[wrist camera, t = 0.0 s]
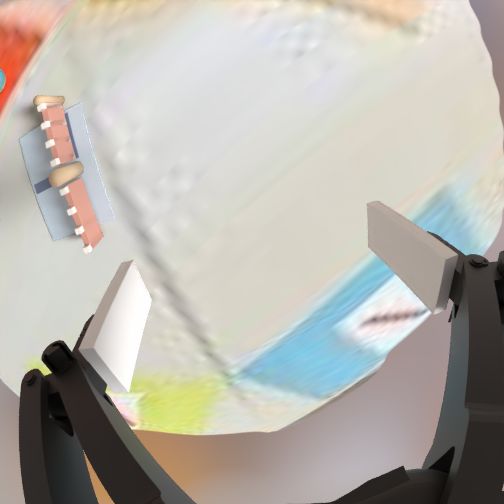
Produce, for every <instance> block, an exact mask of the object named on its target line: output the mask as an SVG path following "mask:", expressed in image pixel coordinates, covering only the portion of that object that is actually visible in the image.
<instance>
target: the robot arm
mask: <svg viewBox="0 0 504 504" xmlns="http://www.w3.org/2000/svg"><path fill="white" fill-rule="evenodd" d="M367 215H368V247H369V248H370V249H371V250H372V251H373V252H374V253H375V254H376V255H377V256H378V257H379V258H380V259H381V260H382V261H383V262H384V263H385V264H386V265H387V266H388V267H389V268H390V269H391V270H392V271H393V272H394V273H395V274H396V275H397V276H398V277H399V278H400V279H401V280H402V281H403V282H404V283H405V284H406V285H407V286H408V287H409V288H410V289H411V290H412V291H413V293H414V294H415V295H416V296H417V297H418V298H419V299H420V300H421V301H422V302H423V303H424V304H425V306H426V307H427V308H428V309H429V310H430V311H431V312H432V313H433V315H434V314H436V313H439V312H441V311H443V310H445V309H446V307H447V303H448V300H449V298H450V299H451V300H452V301H453V302H454V304H453V308H452V311H451V315H450V318H449V321H448V322H451V319H452V326H451V342H450V354H449V364H448V372H447V379H446V386H445V392H444V398H443V403H442V408H441V413H440V417H439V422H438V426H437V430H436V434H435V438H434V441H433V445H432V447H431V449H430V451H429V453H428V455H427V457H426V459H425V461H424V464H423V466H422V469H411V470H405V468H404V466H401V467H399V468H397V469H395V470H392V471H390V472H388V473H386V474H383V475H381V476H379V477H376V478H374V479H371V480H369V481H367V482H366V483H364V484H362V485H361V486H360V487H358V488H356V489H354V490H353V491H351V492H350V493H348V494H346V495H344V496H343V497H341V498H339V499H337V500H336V501H333V502H329V503H313V504H504V491H502V488H503V484H504V251H501V252H500V253H499V258H498V261H497V262H489V261H488V260H487V259H485V258H484V257H482V256H480V255H476V254H470V255H467V256H466V255H464V254H463V253H462V252H460V251H459V250H458V249H456V248H455V247H454V246H452V245H451V244H449V243H448V242H447V241H445V240H444V239H442V238H441V237H439V236H438V235H436V234H434V233H431V232H428V231H427V232H426V231H425V230H423V229H422V228H420V227H419V226H417V225H416V224H414V223H413V222H411V221H410V220H408V219H407V218H405V217H404V216H402V215H401V214H399V213H397V212H396V211H394V210H393V209H391V208H389V207H388V206H386V205H384V204H383V203H381V202H380V201H375V202H370V203H367ZM151 301H152V299H151V297H150V295H149V293H148V291H147V289H146V287H145V285H144V283H143V280H142V278H141V276H140V274H139V272H138V269H137V267H136V265H135V263H134V260H131V261H128V262H124V263H121V265H120V267H119V269H118V270H117V272H116V274H115V276H114V278H113V280H112V281H111V283H110V285H109V287H108V289H107V291H106V293H105V295H104V297H103V299H102V300H101V302H100V304H99V306H98V308H97V310H96V312H95V314H94V315H92V316H91V317H90V318H89V319H88V321H87V322H86V323H85V325H84V327H83V331H82V332H81V334H80V337H79V338H78V340H77V342H76V345H75V347H74V349H73V351H72V352H71V350H70V349H69V348H68V346H67V345H66V344H65V342H64V341H61V340H59V341H55V342H53V343H51V344H50V345H49V346H48V347H47V348H46V349H45V350H44V352H43V354H42V361H43V362H44V364H45V365H46V366H47V367H48V368H49V370H50V371H51V372H52V373H51V374H48V375H46V376H44V375H43V374H42V373H41V371H40V370H39V369H33V370H31V371H29V372H27V374H25V376H24V378H23V380H22V383H21V392H20V408H19V451H20V465H21V476H22V484H23V490H24V497H25V503H26V504H98V501H97V498H96V495H95V492H94V489H93V486H92V482H91V479H90V475H89V472H88V468H87V464H86V460H85V456H84V452H85V454H86V456H87V458H88V460H89V462H90V463H91V465H92V467H93V469H94V471H95V472H96V474H97V476H98V478H99V480H100V481H101V483H102V485H103V486H104V488H105V489H106V491H107V492H108V494H109V496H110V497H111V499H112V500H113V502H114V503H115V504H196V503H195V502H194V501H193V500H192V499H191V498H190V497H189V496H188V495H187V494H186V493H185V492H184V491H183V490H182V489H181V488H180V487H179V486H178V485H177V484H176V483H175V482H174V481H173V480H172V479H171V477H170V476H169V475H168V474H167V473H166V472H165V471H164V470H163V469H162V467H161V466H160V465H159V464H158V463H157V462H156V460H155V459H154V458H153V457H152V456H151V454H150V453H149V452H148V451H147V449H146V448H145V447H144V446H143V444H142V443H141V442H140V440H139V439H138V438H137V436H136V435H135V434H134V432H133V431H132V430H131V428H130V427H129V425H128V424H127V423H126V421H125V420H124V418H123V417H122V415H121V414H120V412H119V411H118V409H117V408H116V406H115V405H114V403H113V402H112V400H111V398H110V397H109V396H108V395H107V394H106V392H105V391H106V387H107V386H108V387H109V388H110V389H111V390H112V391H113V392H114V393H128V392H129V390H130V385H131V380H132V376H133V371H134V367H135V362H136V358H137V354H138V350H139V346H140V342H141V338H142V334H143V330H144V326H145V323H146V319H147V315H148V312H149V308H150V305H151ZM50 417H51V418H50ZM83 450H84V452H83Z"/></svg>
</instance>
